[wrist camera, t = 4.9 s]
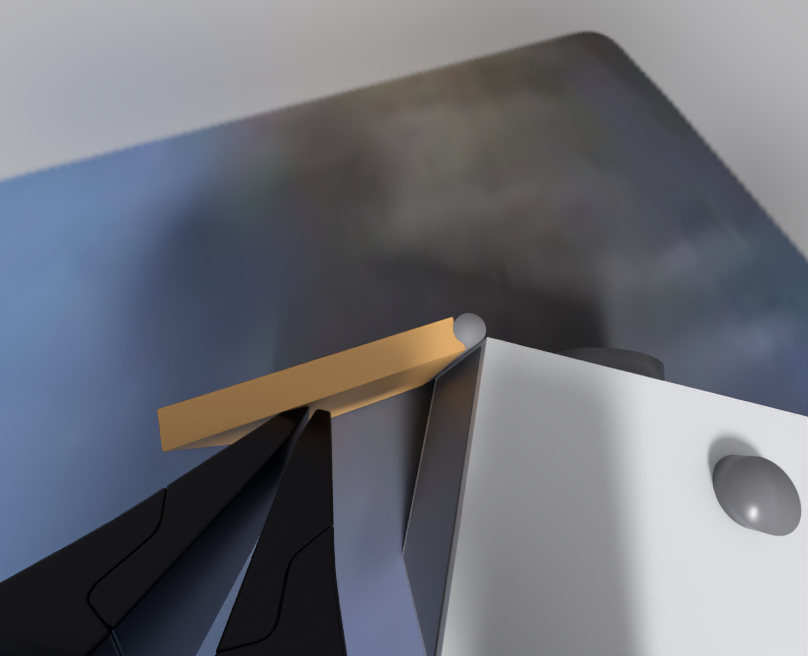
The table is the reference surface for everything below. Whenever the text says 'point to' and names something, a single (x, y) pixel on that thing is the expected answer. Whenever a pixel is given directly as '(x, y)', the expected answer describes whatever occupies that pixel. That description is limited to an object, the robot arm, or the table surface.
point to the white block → (605, 512)
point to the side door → (321, 384)
